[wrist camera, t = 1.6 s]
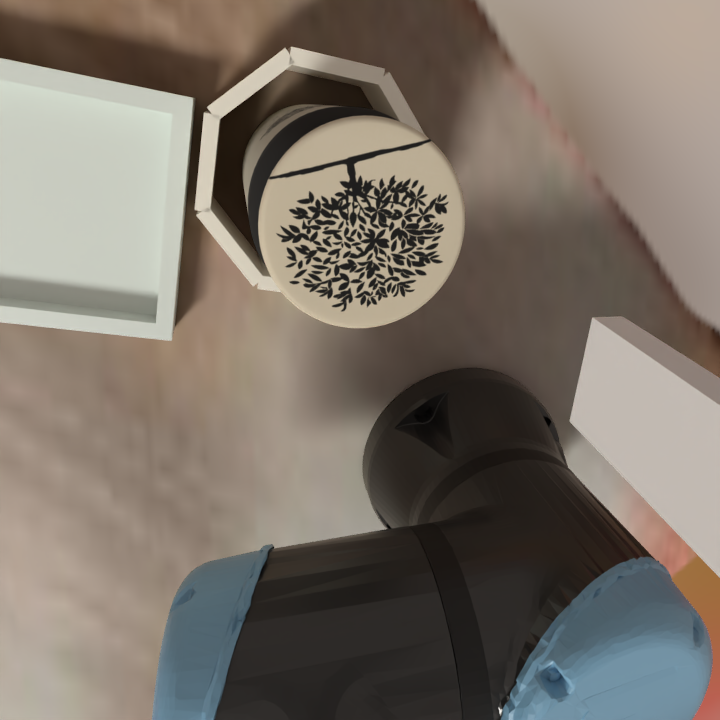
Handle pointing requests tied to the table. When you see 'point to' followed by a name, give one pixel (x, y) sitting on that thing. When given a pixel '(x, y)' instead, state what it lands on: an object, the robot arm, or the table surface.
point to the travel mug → (352, 212)
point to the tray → (91, 201)
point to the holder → (209, 212)
